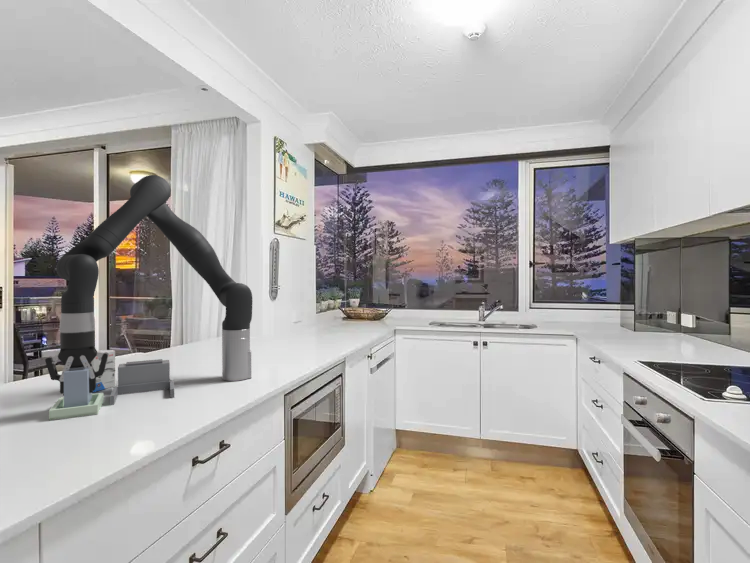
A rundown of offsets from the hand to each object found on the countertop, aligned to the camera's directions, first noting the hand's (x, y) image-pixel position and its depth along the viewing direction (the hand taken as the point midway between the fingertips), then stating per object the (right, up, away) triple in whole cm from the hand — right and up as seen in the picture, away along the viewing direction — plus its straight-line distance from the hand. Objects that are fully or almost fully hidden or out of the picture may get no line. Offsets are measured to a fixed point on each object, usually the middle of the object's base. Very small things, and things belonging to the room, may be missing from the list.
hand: (78, 393), depth 110 cm
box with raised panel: (0, -2, 0) cm, 2 cm away
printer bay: (+9, -4, +16) cm, 19 cm away
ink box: (-9, -5, +21) cm, 23 cm away
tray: (0, -4, 0) cm, 4 cm away
